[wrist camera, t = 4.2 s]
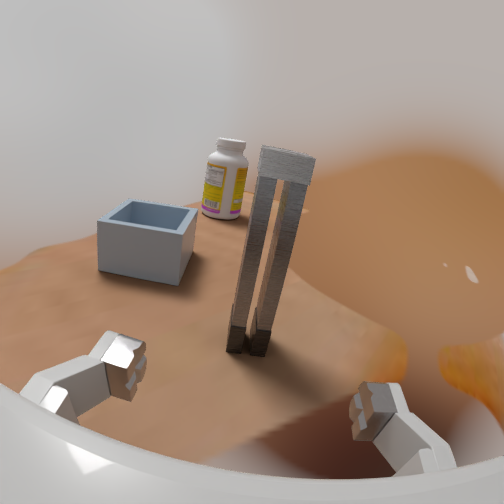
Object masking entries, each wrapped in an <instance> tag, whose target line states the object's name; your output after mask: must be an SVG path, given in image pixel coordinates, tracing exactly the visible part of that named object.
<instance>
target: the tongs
mask: <svg viewBox="0 0 504 504" xmlns="http://www.w3.org/2000/svg"><path fill="white" fill-rule="evenodd" d="M315 160H316V159H315V158H313V157H311V156H309V155H308V154H304V153H299V152H296V151H291V150H286V149H281V148H276V147H271V146H266V145H262V148H261V153H260V158H259V163H258V177H257V182H256V187H255V192H254V197H253V203H252V208H251V213H250V218H249V224H248V229H247V234H246V239H245V245H244V250H243V255H242V261H241V266H240V271H239V277H238V282H237V288H236V293H235V298H234V304H233V305H232V311H231V316H230V322H229V327H228V337H227V347H226V352H232V353H239V354H241V350H242V346H243V341H244V337H245V332H246V324H247V319H248V314H249V310H250V305H251V301H252V296H253V292H254V287H255V282H256V278H257V273H258V268H259V264H260V259H261V254H262V250H263V245H264V240H265V236H266V231H267V226H268V221H269V217H270V212H271V207H272V202H273V198H274V193H275V188H276V183H277V179H281V180H284V185H283V190H282V195H281V199H280V204H279V208H278V213H277V218H276V222H275V227H274V231H273V236H272V240H271V245H270V249H269V254H268V258H267V263H266V267H265V272H264V276H263V281H262V285H261V289H260V294H259V298H258V302H257V307H256V308H255V312H254V316H253V321H252V325H251V329H250V355H254V356H261V357H265V353H266V350H267V346H268V343H269V339H270V336H271V328H272V325H273V321H274V317H275V314H276V310H277V306H278V303H279V299H280V295H281V291H282V288H283V284H284V280H285V276H286V272H287V268H288V264H289V261H290V256H291V253H292V248H293V245H294V241H295V237H296V232H297V228H298V224H299V220H300V216H301V212H302V208H303V203H304V199H305V195H306V190H307V186H308V185H310V182H311V178H312V173H313V169H314V165H315Z"/></svg>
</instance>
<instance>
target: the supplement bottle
mask: <svg viewBox="0 0 504 504" xmlns="http://www.w3.org/2000/svg"><path fill="white" fill-rule="evenodd" d="M245 147H246V142H244V141H240V140H233V139H228V138H218V139H217V151H216V152H215V153H212V154H211V155H210V156H209V158H208V163H207V171H206V177H205V184H204V192H203V199H202V208H201V210H202V212H203V213H204V214H205V215H207V216H209V217H212V218H216V219H225V220H230V219H235V218H237V217H238V216H239V215H240V210H241V205H242V199H243V193H244V187H245V181H246V176H247V170H248V160H247V159H246V158H245V157H244V156H243V151H244V149H245Z"/></svg>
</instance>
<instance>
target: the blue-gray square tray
mask: <svg viewBox="0 0 504 504" xmlns="http://www.w3.org/2000/svg"><path fill="white" fill-rule="evenodd" d="M197 215H198V209H195V208H189V207H182V206H176V205H170V204H162V203H156V202H149V201H142V200H136V199H128V200H126V201H125V202H123V203H122V204H120V205H119V206H117V207H116V208H115V209H113V210H112V211H110V212H109V213H107V214H106V215H105V216H103V217H102V218H100V219H99V220H98V221H97V247H98V270H100V271H105V272H110V273H114V274H119V275H124V276H129V277H134V278H139V279H144V280H149V281H155V282H160V283H165V284H171V285H176V286H178V285H179V283H180V280H181V278H182V276H183V273H184V271H185V268H186V266H187V264H188V261H189V259H190V257H191V254H192V252H193V247H194V238H195V230H196V222H197Z"/></svg>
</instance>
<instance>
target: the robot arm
mask: <svg viewBox="0 0 504 504" xmlns="http://www.w3.org/2000/svg"><path fill="white" fill-rule="evenodd" d="M145 351H146V343H145V342H144V341H141V340H138V339H135V338H132V337H129V336H125V335H122V334H118V333H116V332H113V331H110V330H108V331H106V332H105V333H104V335H103V336H102V337H101V339H100V340H99V341H98V343H97V344H96V345H95V347H94V348H93V349H92V351H91V352H90V353H89V355H88V356H87V355H83V356H80V357H77V358H75V359H72V360H70V361H67V362H64V363H62V364H59V365H57V366H54V367H51V368H49V369H46V370H43V371H41V372H38V373H35V374H34V376H33V377H32V378H31V379H30V381H29V382H28V383H27V384H26V386H25V387H24V388H23V389H22V391H21V392H20V393H19V394H18V393H16V392H14V391H13V390H11V389H9V388H8V387H6V386H5V385H3V384H1V383H0V504H504V455H503V456H500V457H497V458H493V459H490V460H486V461H482V462H478V463H474V464H470V465H466V466H462V467H457V466H456V463H455V460H454V457H453V454H452V451H451V449H450V446H449V444H447V443H446V442H445V441H444V440H443V439H442V438H441V437H439V436H438V435H437V434H436V433H435V432H434V431H433V430H432V429H430V428H429V427H428V426H427V425H426V424H424V422H422V421H421V420H420V419H419V418H418V417H417V416H416V415H414V414H413V413H410V412H409V410H408V407H407V404H406V401H405V398H404V395H403V393H402V390H401V387H400V385H399V384H398V383H381V382H365V381H364V382H362V383H361V384H360V386H359V388H358V389H359V393H358V394H356V395H354V396H353V398H352V400H351V403H350V407H349V416H350V419H351V420H352V421H353V422H354V424H353V426H352V427H351V428H352V434H353V440H360V441H373V443H374V444H375V445H376V447H377V448H378V449H379V451H380V452H381V453H382V455H383V456H384V457H385V458H386V460H387V461H388V462H389V464H390V465H391V466H392V467H393V469H394V470H395V471H396V472H397V473H396V474H395V475H393V476H392V477H387V478H373V479H346V480H345V479H344V480H343V479H342V480H341V479H340V480H337V479H303V478H288V477H277V476H267V475H258V474H251V473H244V472H238V471H231V470H226V469H220V468H215V467H210V466H205V465H201V464H196V463H192V462H188V461H183V460H179V459H176V458H172V457H168V456H164V455H161V454H157V453H154V452H151V451H147V450H144V449H141V448H138V447H135V446H132V445H129V444H126V443H123V442H121V441H118V440H115V439H112V438H110V437H107V436H105V435H102V434H99V433H97V432H94V431H92V430H90V429H87V428H85V427H83V426H80V424H79V422H78V419H77V417H78V416H80V415H81V414H83V413H85V412H86V411H88V410H90V409H91V408H93V407H94V406H96V405H98V404H99V403H101V402H103V401H104V400H106V399H107V398H109V397H110V395H111V396H114V397H117V398H120V399H123V400H126V401H130V402H131V401H132V399H133V397H134V395H135V393H136V391H137V383H139V382H141V381H142V379H143V377H144V374H145V370H146V364H147V360H146V357H145V356H144V353H145Z"/></svg>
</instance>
